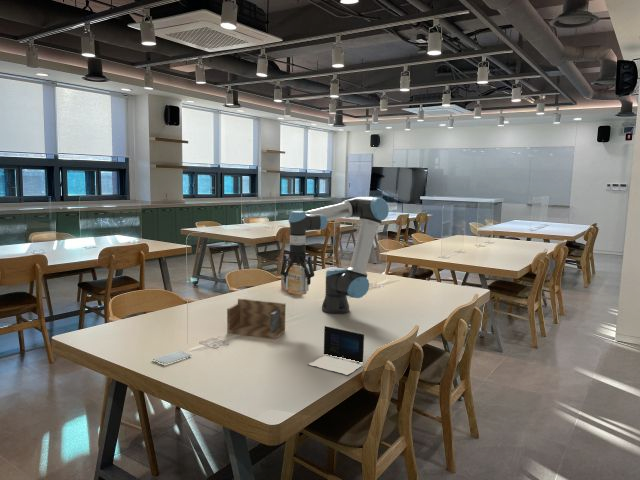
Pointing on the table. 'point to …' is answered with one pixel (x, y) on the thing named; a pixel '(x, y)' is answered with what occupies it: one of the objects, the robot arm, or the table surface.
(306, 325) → the table surface
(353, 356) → the laptop
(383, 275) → the table surface
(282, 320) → the small wooden side table
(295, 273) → the supplement box
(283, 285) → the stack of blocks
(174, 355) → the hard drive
